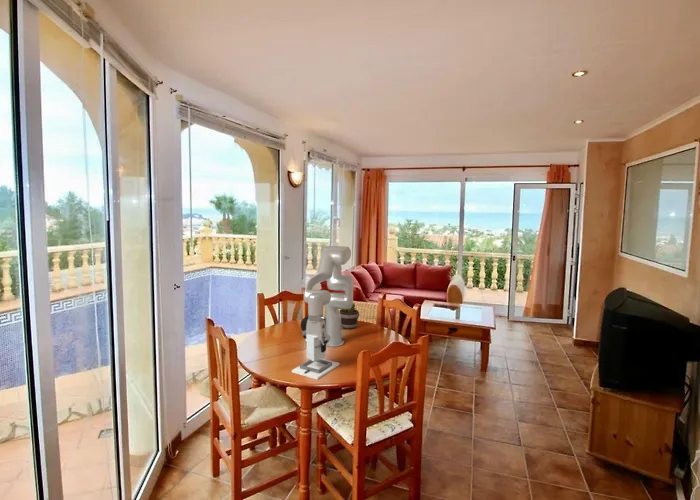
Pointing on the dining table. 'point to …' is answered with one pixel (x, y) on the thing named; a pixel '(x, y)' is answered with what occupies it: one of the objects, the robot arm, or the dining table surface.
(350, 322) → the flowerpot
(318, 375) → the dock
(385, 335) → the dining table surface
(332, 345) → the robot arm
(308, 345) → the supplement box
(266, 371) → the dining table surface
